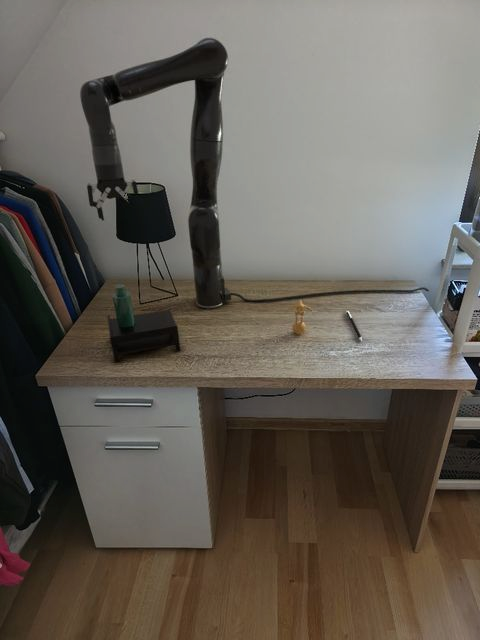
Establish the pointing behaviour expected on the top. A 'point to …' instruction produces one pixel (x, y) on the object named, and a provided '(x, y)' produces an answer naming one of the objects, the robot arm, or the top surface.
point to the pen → (354, 326)
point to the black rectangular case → (144, 333)
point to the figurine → (298, 325)
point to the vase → (123, 306)
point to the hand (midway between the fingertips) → (117, 218)
